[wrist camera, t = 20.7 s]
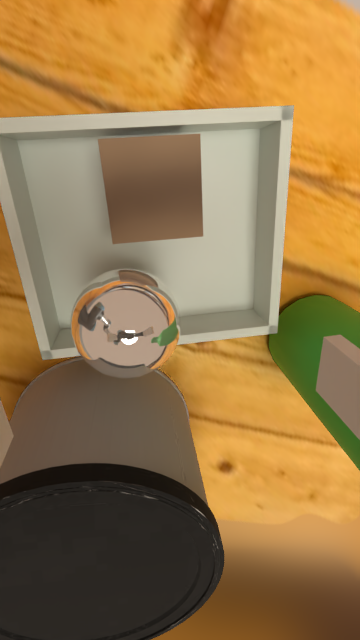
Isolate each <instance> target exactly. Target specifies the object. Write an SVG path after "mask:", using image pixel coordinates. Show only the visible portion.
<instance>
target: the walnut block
mask: <svg viewBox="0 0 360 640" xmlns="http://www.w3.org/2000/svg"><path fill="white" fill-rule="evenodd" d="M98 145H99V152H100V159H101V166H102V173H103V180H104V187H105V194H106V201H107V208H108V215H109V222H110V229H111V236H112V243H113V244H120V243H132V242H144V241H156V240H168V239H180V238H191V237H203V208H202V174H201V140H200V134H182V135H163V136H144V137H125V138H106V139H98Z"/></svg>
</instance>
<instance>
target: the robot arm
mask: <svg viewBox="0 0 360 640" xmlns="http://www.w3.org/2000/svg"><path fill="white" fill-rule="evenodd" d="M316 391H317V392H318V394H319V395H320V396H321V397H322V398H323V399H324V400H325V401H326V403H327V404H328V405H329V406H330V407H331V408H332V409H333V411H334V412H335V413H336V414H337V415H338V416H339V417H340V418H341V420H342V421H343V422H344V423H345V424H346V425H347V426H348V427H349V429H350V430H351V431H352V432H353V433H354V434H355V435H356V437H357V438H358V439H359V440H360V349H359V348H358V347H357V346H355V345H354V344H353V343H351V342H350V341H348V340H347V339H346V338H344V337H343V336H342V335H334V336H326V337H324V338H323V345H322V351H321V358H320V365H319V371H318V378H317V384H316ZM13 436H14V435H13V433H12V430H11V427H10V424H9V421H8V419H7V416H6V413H5V410H4V408H3V405H2V402H1V399H0V468H1V465H2V463H3V460H4V458H5V456H6V453H7V451H8V448H9V446H10V444H11V441H12V439H13Z"/></svg>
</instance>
